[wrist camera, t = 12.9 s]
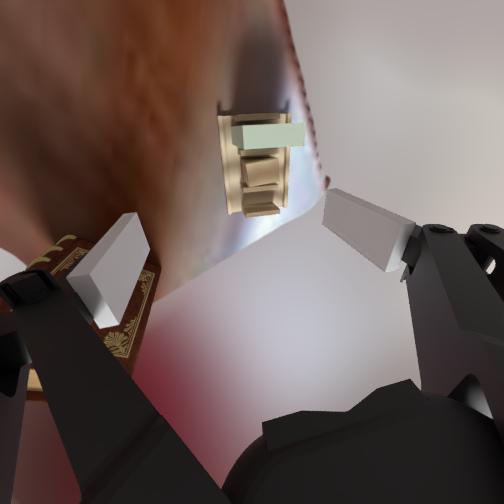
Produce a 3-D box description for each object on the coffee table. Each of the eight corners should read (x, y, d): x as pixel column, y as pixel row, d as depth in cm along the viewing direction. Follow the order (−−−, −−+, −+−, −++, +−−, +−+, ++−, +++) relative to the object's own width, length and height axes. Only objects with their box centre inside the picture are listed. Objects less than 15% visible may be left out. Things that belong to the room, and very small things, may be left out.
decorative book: (53, 258, 49) (-104, 396, 23) (62, 230, 46) (-104, 352, 21) (151, 287, 58) (114, 407, 33) (162, 266, 56) (131, 379, 31)
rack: (283, 204, 54) (294, 213, 48) (227, 211, 52) (230, 221, 46) (287, 113, 44) (300, 111, 38) (216, 116, 42) (219, 114, 36)
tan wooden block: (240, 158, 45) (242, 160, 43) (270, 156, 47) (275, 158, 44) (241, 179, 48) (244, 182, 45) (270, 176, 49) (274, 179, 46)
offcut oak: (243, 162, 43) (246, 164, 40) (273, 156, 44) (278, 158, 41) (246, 183, 45) (249, 187, 42) (274, 178, 46) (279, 181, 43)
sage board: (230, 126, 42) (242, 125, 30) (277, 124, 44) (305, 122, 32) (232, 144, 44) (243, 149, 32) (277, 141, 45) (304, 145, 34)
